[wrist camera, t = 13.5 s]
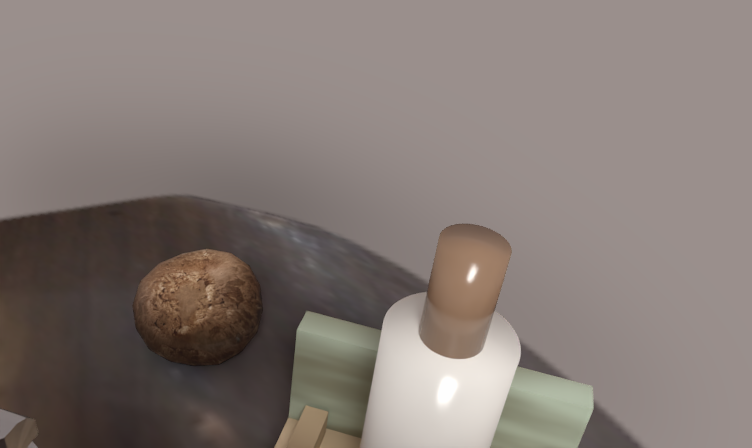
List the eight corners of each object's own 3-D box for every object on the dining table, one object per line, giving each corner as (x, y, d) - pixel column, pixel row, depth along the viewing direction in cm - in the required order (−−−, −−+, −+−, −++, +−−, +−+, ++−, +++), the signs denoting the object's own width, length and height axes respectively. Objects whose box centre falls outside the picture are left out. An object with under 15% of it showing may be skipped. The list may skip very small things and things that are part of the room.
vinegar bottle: (326, 508, 32) (373, 213, 24) (420, 476, 35) (494, 196, 26) (374, 609, 29) (450, 304, 20) (475, 566, 31) (582, 275, 22)
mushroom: (216, 241, 50) (202, 209, 45) (291, 321, 49) (286, 298, 43) (124, 316, 48) (97, 293, 42) (200, 403, 47) (182, 391, 41)
